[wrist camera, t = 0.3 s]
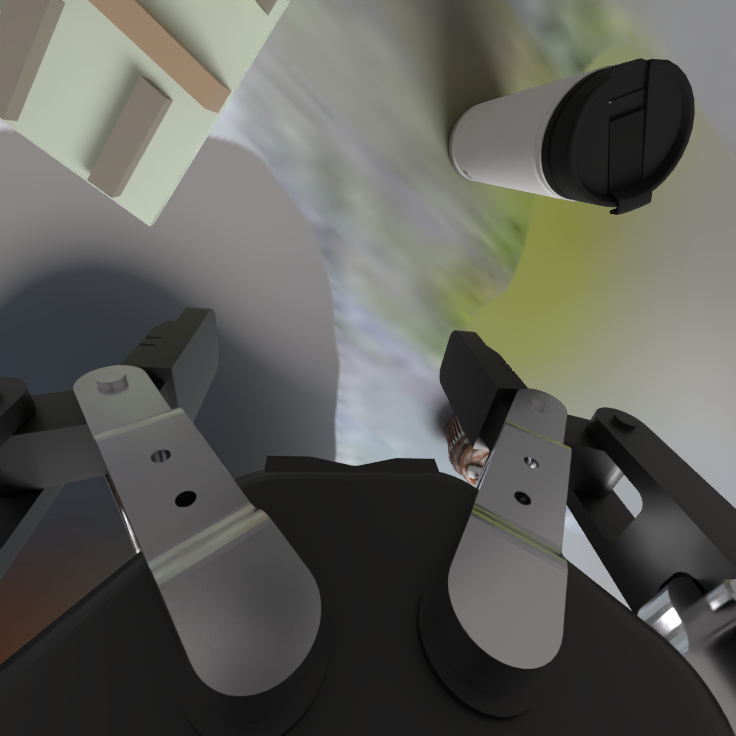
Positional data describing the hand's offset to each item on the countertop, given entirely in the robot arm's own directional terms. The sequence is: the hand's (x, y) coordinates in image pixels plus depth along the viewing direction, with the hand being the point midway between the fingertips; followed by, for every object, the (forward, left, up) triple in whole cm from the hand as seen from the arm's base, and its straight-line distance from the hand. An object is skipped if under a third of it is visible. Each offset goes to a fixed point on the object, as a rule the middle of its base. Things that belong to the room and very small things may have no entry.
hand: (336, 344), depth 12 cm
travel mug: (-7, +15, -28) cm, 32 cm away
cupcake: (+29, +22, -28) cm, 46 cm away
